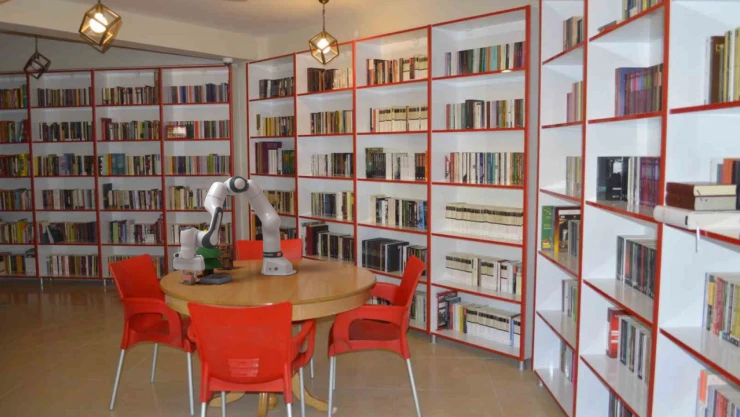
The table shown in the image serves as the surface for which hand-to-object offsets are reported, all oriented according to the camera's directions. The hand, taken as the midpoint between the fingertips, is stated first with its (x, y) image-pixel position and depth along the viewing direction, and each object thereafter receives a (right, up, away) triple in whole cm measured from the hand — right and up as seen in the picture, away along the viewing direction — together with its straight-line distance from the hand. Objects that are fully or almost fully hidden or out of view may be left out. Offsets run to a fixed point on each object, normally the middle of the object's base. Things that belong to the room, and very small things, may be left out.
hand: (189, 277), depth 357 cm
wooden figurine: (+10, 0, +47) cm, 48 cm away
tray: (+14, -3, +7) cm, 16 cm away
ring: (0, -1, 0) cm, 1 cm away
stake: (0, -4, 0) cm, 4 cm away
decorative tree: (+5, -2, +24) cm, 25 cm away
